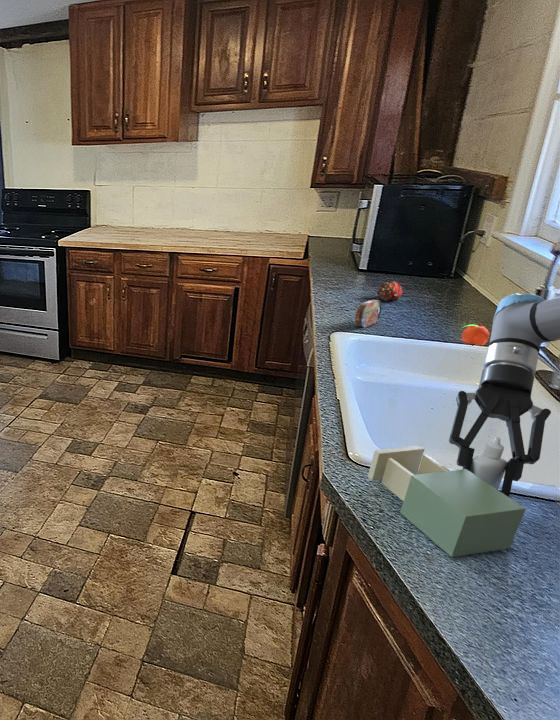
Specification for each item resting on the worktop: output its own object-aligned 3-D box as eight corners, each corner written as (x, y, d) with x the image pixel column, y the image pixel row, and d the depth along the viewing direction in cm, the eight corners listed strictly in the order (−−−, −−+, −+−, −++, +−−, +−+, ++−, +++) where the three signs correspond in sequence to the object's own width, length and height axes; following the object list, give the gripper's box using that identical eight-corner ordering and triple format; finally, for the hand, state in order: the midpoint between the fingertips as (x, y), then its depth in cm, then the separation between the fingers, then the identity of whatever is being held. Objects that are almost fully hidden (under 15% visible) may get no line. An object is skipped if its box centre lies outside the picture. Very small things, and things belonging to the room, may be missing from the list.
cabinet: (400, 512, 90) (411, 475, 88) (453, 505, 92) (466, 468, 89) (451, 557, 81) (466, 516, 78) (509, 548, 83) (526, 508, 80)
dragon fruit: (381, 306, 212) (386, 304, 221) (403, 297, 207) (408, 296, 216) (371, 287, 213) (378, 286, 222) (394, 278, 208) (399, 277, 217)
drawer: (363, 473, 100) (370, 446, 97) (407, 468, 101) (414, 442, 99) (405, 509, 90) (414, 480, 88) (453, 503, 92) (463, 474, 89)
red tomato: (456, 347, 166) (462, 325, 163) (454, 340, 171) (460, 319, 169) (486, 351, 162) (494, 330, 160) (484, 345, 168) (491, 323, 165)
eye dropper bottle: (455, 485, 98) (474, 429, 93) (491, 492, 96) (513, 435, 91) (462, 499, 94) (482, 441, 89) (499, 506, 92) (522, 447, 88)
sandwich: (360, 329, 180) (365, 306, 177) (351, 327, 183) (356, 304, 179) (379, 321, 189) (384, 298, 186) (370, 319, 192) (375, 296, 188)
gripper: (453, 352, 99) (425, 467, 93) (581, 375, 89) (559, 505, 83) (446, 369, 105) (419, 478, 99) (565, 392, 96) (544, 514, 89)
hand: (483, 490), depth 91 cm, fingers closed on eye dropper bottle, 5 cm apart
